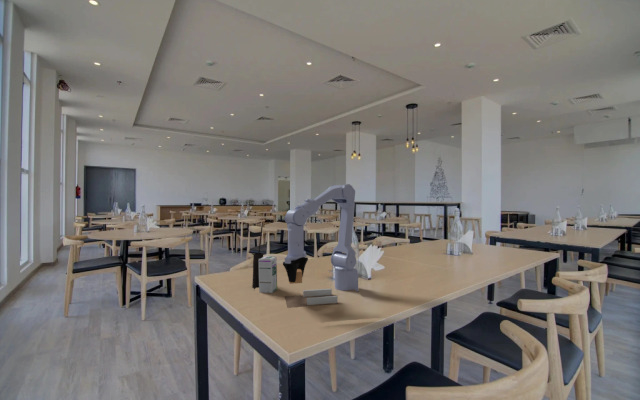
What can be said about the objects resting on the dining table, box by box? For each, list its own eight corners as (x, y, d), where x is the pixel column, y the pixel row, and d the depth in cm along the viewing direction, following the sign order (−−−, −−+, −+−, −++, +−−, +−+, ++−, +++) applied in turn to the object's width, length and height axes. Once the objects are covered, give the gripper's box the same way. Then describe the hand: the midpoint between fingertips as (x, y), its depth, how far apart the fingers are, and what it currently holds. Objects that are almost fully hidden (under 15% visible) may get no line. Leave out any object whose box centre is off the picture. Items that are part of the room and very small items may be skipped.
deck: (330, 295, 117) (330, 293, 117) (338, 306, 105) (338, 303, 105) (284, 299, 113) (284, 296, 113) (287, 310, 101) (287, 307, 101)
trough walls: (331, 294, 116) (331, 288, 116) (337, 302, 106) (337, 296, 106) (303, 296, 114) (303, 290, 114) (307, 305, 104) (307, 298, 104)
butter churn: (243, 291, 124) (242, 223, 124) (246, 284, 133) (246, 222, 133) (265, 290, 124) (265, 223, 124) (267, 283, 134) (267, 221, 134)
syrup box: (272, 295, 117) (272, 259, 117) (258, 294, 119) (258, 258, 119) (277, 291, 123) (277, 256, 123) (264, 290, 124) (263, 255, 124)
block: (300, 279, 111) (300, 268, 111) (302, 282, 106) (302, 271, 106) (288, 280, 110) (288, 269, 110) (289, 283, 106) (289, 272, 106)
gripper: (297, 245, 100) (298, 285, 100) (313, 240, 114) (313, 275, 114) (279, 244, 102) (279, 284, 102) (296, 239, 116) (296, 274, 116)
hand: (296, 279), depth 108 cm, fingers closed on block, 6 cm apart
